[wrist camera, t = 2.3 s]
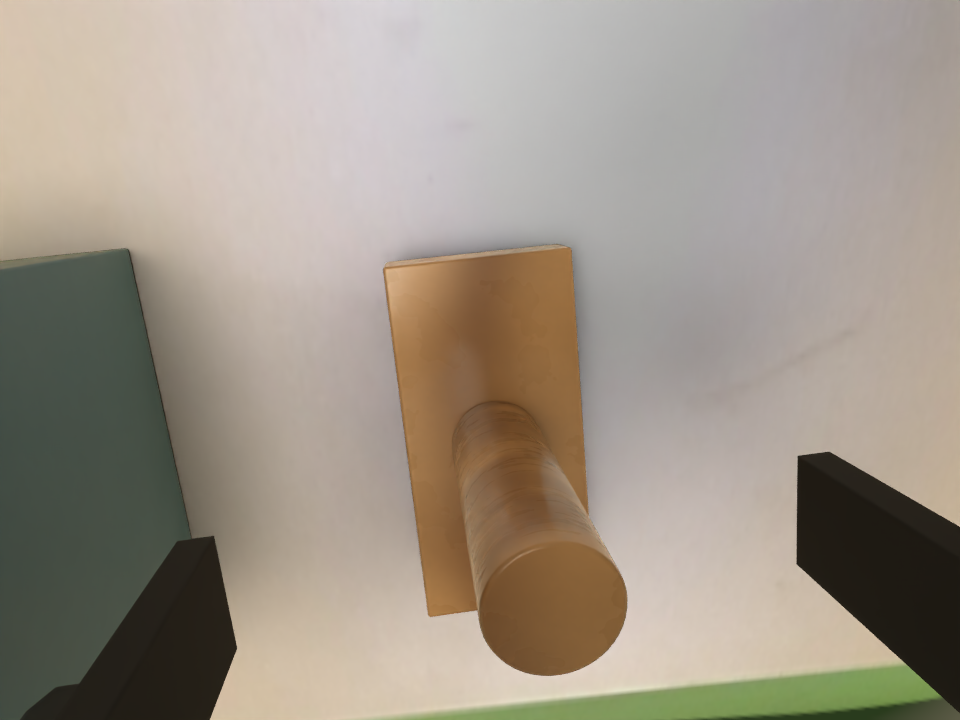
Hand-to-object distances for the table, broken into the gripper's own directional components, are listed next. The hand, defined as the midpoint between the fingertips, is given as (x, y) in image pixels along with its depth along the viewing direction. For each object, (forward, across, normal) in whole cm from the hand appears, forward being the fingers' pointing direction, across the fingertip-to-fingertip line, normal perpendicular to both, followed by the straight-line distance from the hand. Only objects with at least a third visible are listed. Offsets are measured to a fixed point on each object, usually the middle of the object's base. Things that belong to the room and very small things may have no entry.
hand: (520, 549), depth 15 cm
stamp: (+10, 0, 0) cm, 10 cm away
